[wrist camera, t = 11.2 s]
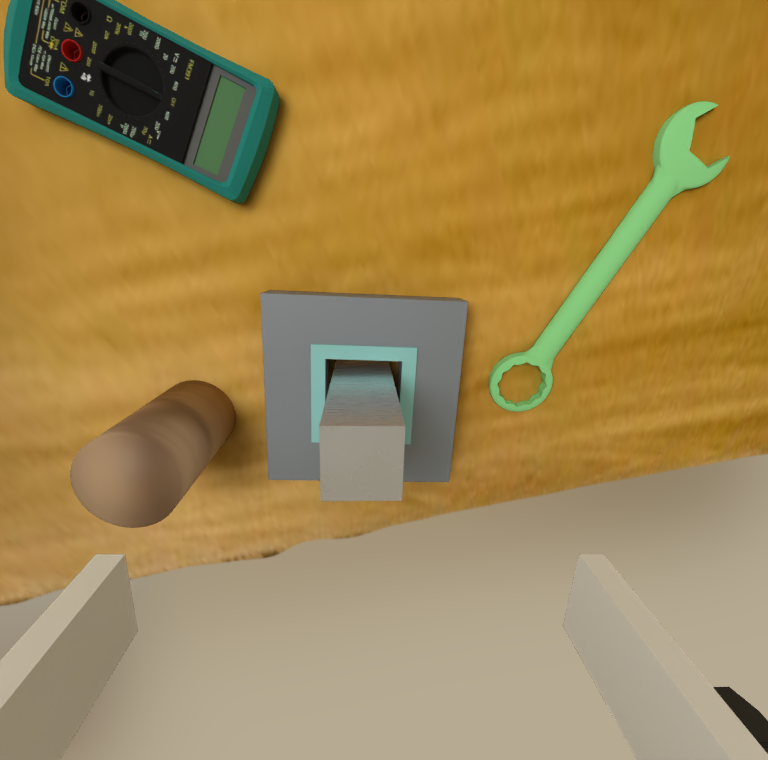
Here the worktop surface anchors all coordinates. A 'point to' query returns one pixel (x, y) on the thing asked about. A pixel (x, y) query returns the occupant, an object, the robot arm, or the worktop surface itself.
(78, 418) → the worktop surface
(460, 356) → the socket plate
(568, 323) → the wrench
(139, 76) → the digital multimeter
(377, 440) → the square bit
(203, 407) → the round dowel
